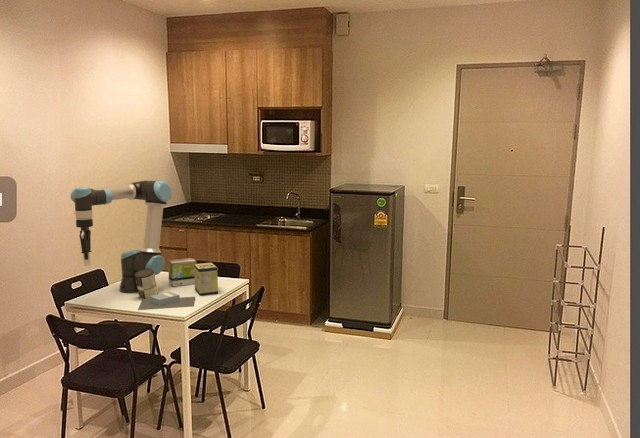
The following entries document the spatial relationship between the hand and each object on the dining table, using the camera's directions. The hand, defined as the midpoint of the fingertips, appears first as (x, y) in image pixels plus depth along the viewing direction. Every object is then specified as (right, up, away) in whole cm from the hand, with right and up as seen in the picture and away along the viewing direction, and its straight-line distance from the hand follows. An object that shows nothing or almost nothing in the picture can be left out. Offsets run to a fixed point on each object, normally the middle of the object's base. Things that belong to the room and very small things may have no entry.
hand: (87, 265), depth 249 cm
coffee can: (+21, -20, +29) cm, 41 cm away
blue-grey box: (+29, -20, +14) cm, 38 cm away
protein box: (+50, -19, +41) cm, 67 cm away
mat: (+35, -22, +17) cm, 45 cm away
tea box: (+32, -17, +58) cm, 68 cm away
